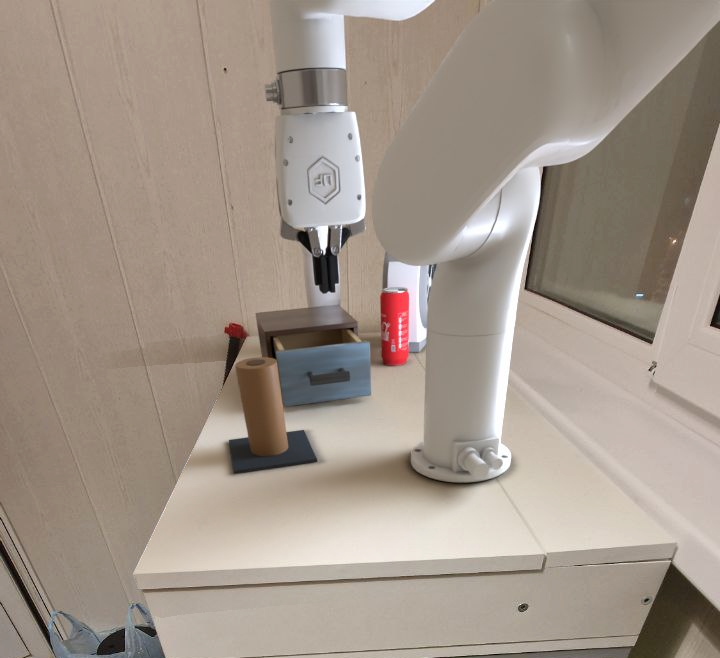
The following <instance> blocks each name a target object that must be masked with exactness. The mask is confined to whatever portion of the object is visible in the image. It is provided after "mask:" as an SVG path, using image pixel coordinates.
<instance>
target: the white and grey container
mask: <svg viewBox="0 0 720 658" xmlns="http://www.w3.org/2000/svg"><path fill="white" fill-rule="evenodd" d="M383 258H384V260H383V267H382V282H381V283H382V286H381V288H382V289H385V288H392V287H403V288H407V289H408V293H409V353H420V352H421V351H422V350H423V349H424V348H425V347H426V332H427V308H428V300H429V293H430V288H431V284H432V280H433V277H434V273H435V270H436V267H437V264H438V263H437V264H433V265H426V266H411V265H407V264H404V263H401V262H399V261H397V260H396V259H394V258H393V257H391V256H390V255H389V254H388V253H387V252H386V251H385V252H384V257H383ZM382 289H381V290H382Z"/></svg>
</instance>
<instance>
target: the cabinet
mask: <svg viewBox="0 0 720 658" xmlns="http://www.w3.org/2000/svg"><path fill="white" fill-rule="evenodd" d="M255 319H256V326H257V333H258V341H259V345H260V353H261V357H268V358H273V359H274V356H273V349H272V341H271V336H280V335H289V334H298V333H307V332H316V331H326V330H335V329H344V328H349V329H350V330H351V331H352V332H353V333H354V334H355V335H356V336H357V337H358V338H359V322H358V320H357V319H356V318H354V317H353V316H352V315H351V314H350V313H349V312H348V311H347V310H345V309H344V308H343V307H342V305H341V306H340V305H329V306H319V307H309V308H308V307H302V308H301V307H300V308H291V309H281V310H280V309H279V310H272V311H260V312H255ZM359 339H360V338H359Z"/></svg>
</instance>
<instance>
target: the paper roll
mask: <svg viewBox="0 0 720 658" xmlns="http://www.w3.org/2000/svg"><path fill="white" fill-rule="evenodd" d="M234 366H235V367H234V368H235V372H236V377H237V378H236V379H237V383H238V388H239V394H240V400H241V404H242V410H243V415H244V422H245V427H246V432H247V433H246V434H247V437H248V438H249V444H250V449H251V452H252V453H253V454H255V455H258V456H274V455H278V454H281V453H283V452H285V451H286V450H287V449H288V440H287V433H286V432H287V426H286V419H285V418H286V417H285V411H284V406H283V403H282V396H281V389H280V381H279V374H278V366H277V361H276V360H275V359H273V358H268V357H262V356H259V357H257V356H255V357H249V358H244V359H241V360H239V361H237V362H236V363H235V365H234Z"/></svg>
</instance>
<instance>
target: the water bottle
mask: <svg viewBox="0 0 720 658" xmlns="http://www.w3.org/2000/svg"><path fill="white" fill-rule="evenodd" d="M317 230H318V235H319V240H320V245H321V249H322V250H323V254H324V255H325V253H326V250H325V249H326V247H327V233H328V226H318V227H317ZM300 248H301V252H302V254H303V255H302V256H303V259H302V260H303V275H304V276H303V277H304V287H305V296H306V302H307V308H309V307H319V306H329V305H340V306H341V307H342V305H341V304H342V303H341V302H342V291H341V273H340V263H339V261H340V260H338V273H339V284H335V293H331V292H327V293H326V294H323V293H322V292H321V291H320V290H319V286H316V285H315V282H314V271H313V260H312V254H311V253H310V252H309V251H308V250H307V249H306V248H305V247H304V246H303V245H302V244H301V247H300ZM338 255H339V254H338ZM338 255H337V256H338ZM338 257H339V256H338Z"/></svg>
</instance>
